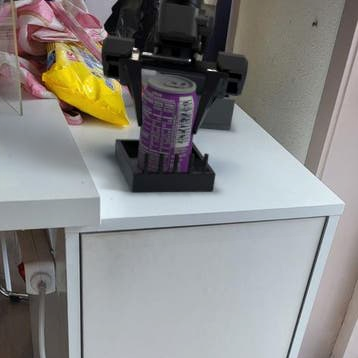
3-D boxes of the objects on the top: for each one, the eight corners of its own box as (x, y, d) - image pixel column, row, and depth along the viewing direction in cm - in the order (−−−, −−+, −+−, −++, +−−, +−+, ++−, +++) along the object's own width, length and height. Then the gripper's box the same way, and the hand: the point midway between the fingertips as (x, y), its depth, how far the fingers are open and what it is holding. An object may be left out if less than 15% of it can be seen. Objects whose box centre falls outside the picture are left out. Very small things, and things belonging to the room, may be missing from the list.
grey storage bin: (153, 99, 112) (155, 69, 109) (218, 105, 114) (223, 76, 110) (159, 124, 103) (162, 93, 100) (230, 130, 105) (235, 99, 102)
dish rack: (114, 156, 92) (116, 120, 89) (189, 156, 95) (193, 122, 92) (132, 192, 84) (134, 154, 81) (213, 191, 87) (218, 155, 84)
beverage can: (189, 167, 92) (201, 78, 84) (185, 188, 87) (197, 95, 79) (140, 159, 92) (148, 69, 84) (133, 180, 87) (140, 86, 79)
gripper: (106, -40, 77) (90, 87, 76) (261, -17, 78) (247, 109, 77) (111, 18, 88) (97, 130, 87) (247, 38, 89) (234, 149, 88)
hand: (166, 129), depth 84 cm, fingers closed on beverage can, 7 cm apart
